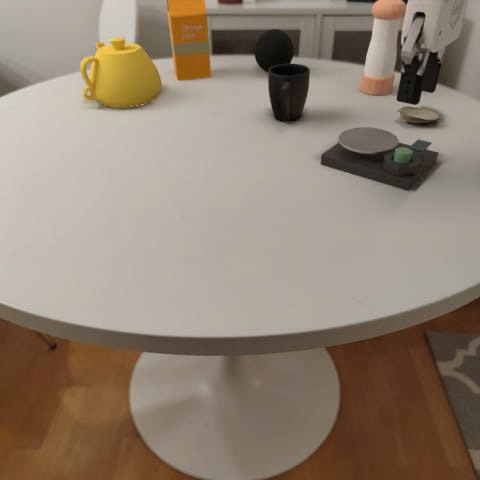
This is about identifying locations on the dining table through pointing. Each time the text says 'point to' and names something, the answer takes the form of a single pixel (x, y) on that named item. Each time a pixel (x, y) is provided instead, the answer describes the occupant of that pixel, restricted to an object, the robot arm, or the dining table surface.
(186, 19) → the orange juice
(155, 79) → the teapot
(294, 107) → the mug
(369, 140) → the scale pan
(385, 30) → the salt shaker
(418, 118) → the seashell
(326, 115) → the dining table surface
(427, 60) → the robot arm
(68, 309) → the dining table surface
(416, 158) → the scale
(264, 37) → the decorative ball
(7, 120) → the dining table surface
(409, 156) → the tare button
